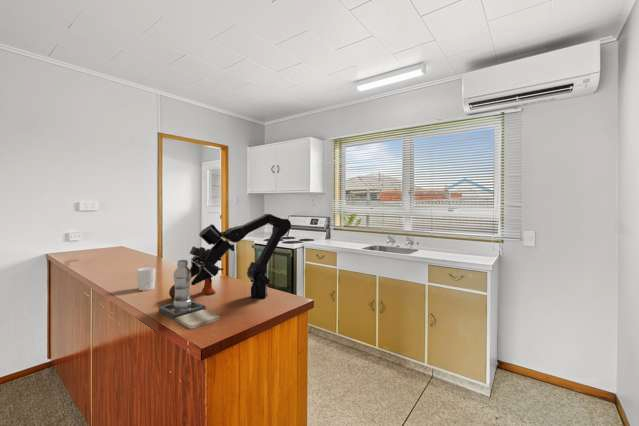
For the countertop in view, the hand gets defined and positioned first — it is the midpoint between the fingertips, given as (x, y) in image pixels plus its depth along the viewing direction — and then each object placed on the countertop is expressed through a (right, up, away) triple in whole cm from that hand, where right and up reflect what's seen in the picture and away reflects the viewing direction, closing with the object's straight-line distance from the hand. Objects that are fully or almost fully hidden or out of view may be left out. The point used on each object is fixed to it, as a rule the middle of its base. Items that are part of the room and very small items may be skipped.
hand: (188, 282), depth 118 cm
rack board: (+8, -12, -10) cm, 17 cm away
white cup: (-33, -10, +29) cm, 45 cm away
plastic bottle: (-2, -11, -1) cm, 12 cm away
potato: (-9, -11, +12) cm, 19 cm away
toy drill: (+2, -11, +21) cm, 24 cm away
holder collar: (-2, -11, -1) cm, 12 cm away
